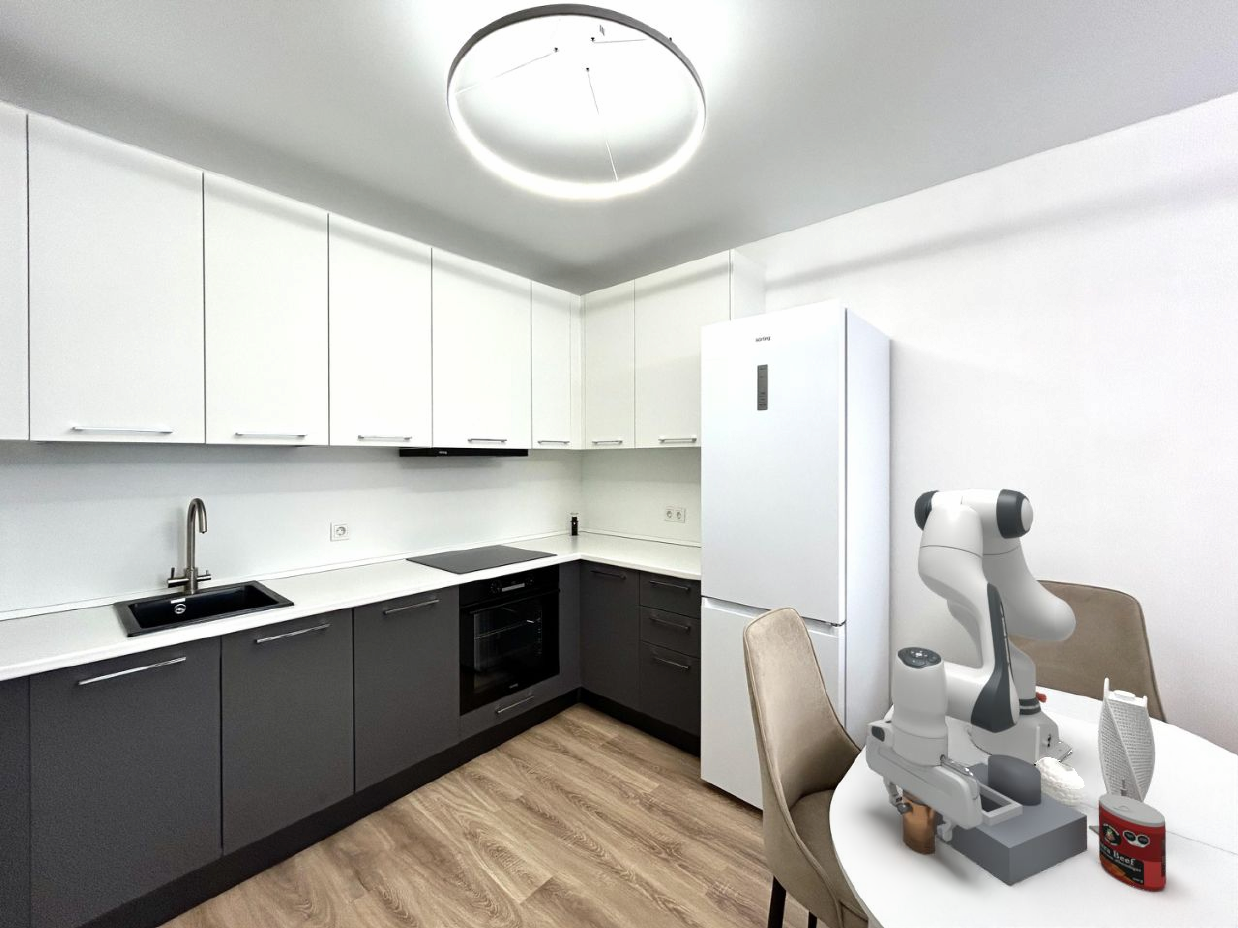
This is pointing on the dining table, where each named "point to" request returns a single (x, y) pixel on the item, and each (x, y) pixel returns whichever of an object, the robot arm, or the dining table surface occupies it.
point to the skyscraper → (1125, 745)
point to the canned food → (1132, 842)
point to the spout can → (917, 824)
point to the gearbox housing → (1017, 823)
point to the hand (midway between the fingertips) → (919, 820)
